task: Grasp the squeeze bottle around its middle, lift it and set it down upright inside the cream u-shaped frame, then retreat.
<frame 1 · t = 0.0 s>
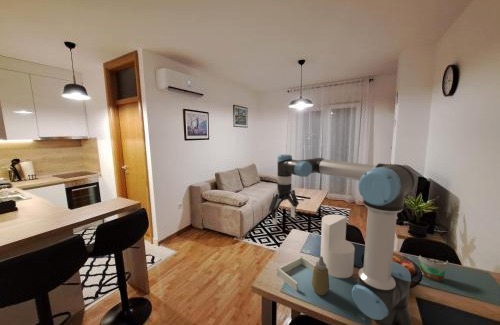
hand: (284, 220, 115), 28 cm above the table, fingers open, 13 cm apart
cream u-shaped frame: (299, 275, 112), on the table
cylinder: (336, 267, 117), on the table
squeeze bottle: (320, 291, 101), on the table
food container: (433, 278, 108), on the table
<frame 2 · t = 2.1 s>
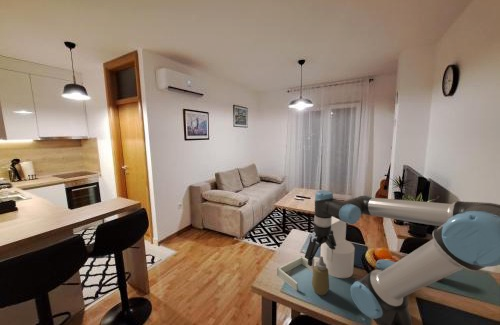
hand: (320, 265, 99), 13 cm above the table, fingers open, 13 cm apart
nothing on the table moved.
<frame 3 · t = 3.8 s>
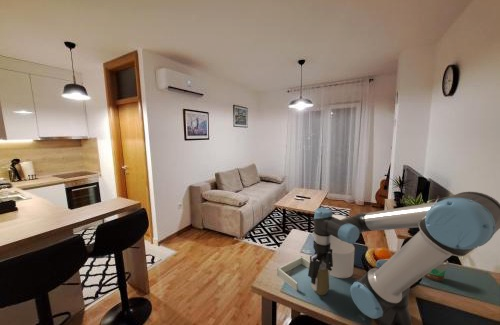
hand: (320, 284, 100), 3 cm above the table, fingers closed on squeeze bottle, 8 cm apart
squeeze bottle: (320, 291, 101), on the table, touching gripper
everything else where it was.
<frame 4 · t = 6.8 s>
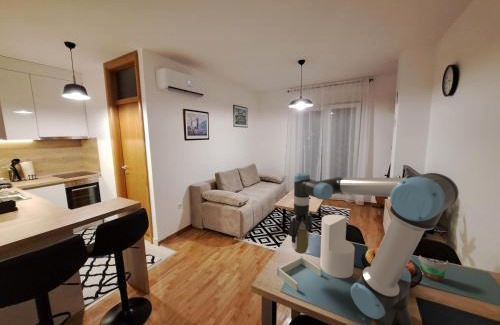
hand: (300, 245, 109), 18 cm above the table, fingers closed on squeeze bottle, 8 cm apart
squeeze bottle: (300, 251, 109), point 14 cm above the table, touching gripper
everything else where it was.
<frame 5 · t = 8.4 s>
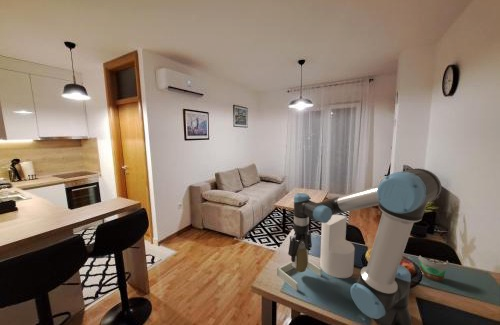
hand: (300, 263, 110), 7 cm above the table, fingers closed on squeeze bottle, 8 cm apart
squeeze bottle: (299, 269, 111), point 4 cm above the table, touching gripper
everything else where it was.
when the fingers open (5 cm above the table, at t = 9.9 s): squeeze bottle drops 1 cm, resting in cream u-shaped frame.
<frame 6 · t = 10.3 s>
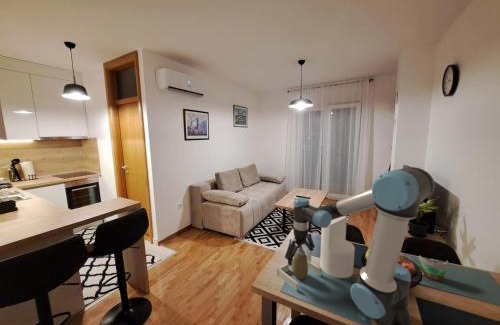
hand: (300, 265, 110), 6 cm above the table, fingers open, 13 cm apart
squeeze bottle: (300, 276, 111), resting in cream u-shaped frame
everything else where it was.
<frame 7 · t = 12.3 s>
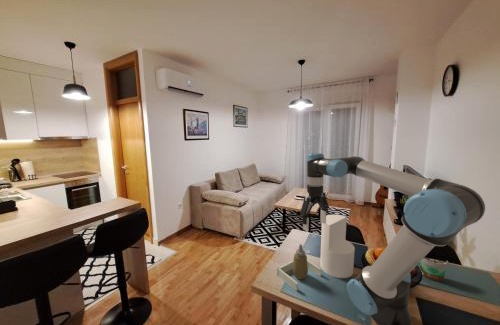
hand: (314, 226, 103), 30 cm above the table, fingers open, 13 cm apart
nothing on the table moved.
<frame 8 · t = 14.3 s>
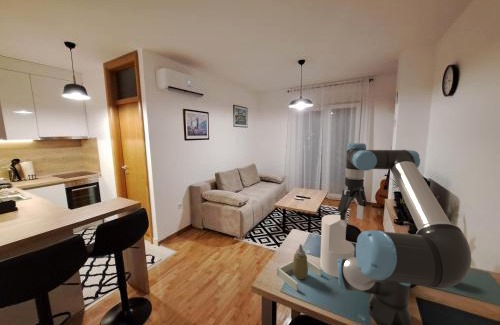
hand: (351, 222, 96), 35 cm above the table, fingers open, 13 cm apart
nothing on the table moved.
at the end: squeeze bottle inside the target area (0.1 cm from its centre), resting in cream u-shaped frame; squeeze bottle tilted 0°; the gripper is holding nothing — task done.
